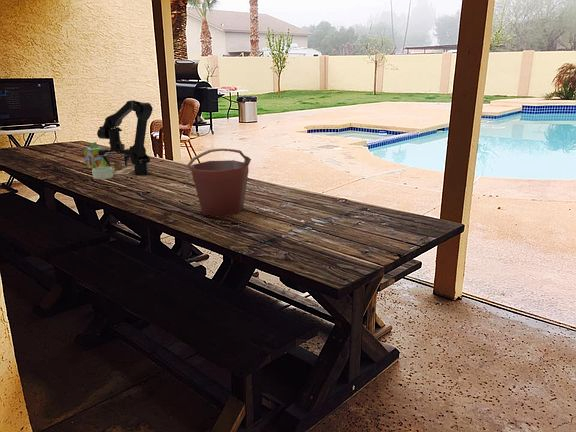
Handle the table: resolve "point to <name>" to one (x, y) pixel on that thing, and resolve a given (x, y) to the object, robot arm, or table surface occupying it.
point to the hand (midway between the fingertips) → (118, 167)
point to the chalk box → (94, 157)
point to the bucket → (220, 184)
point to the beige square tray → (120, 168)
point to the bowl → (102, 172)
